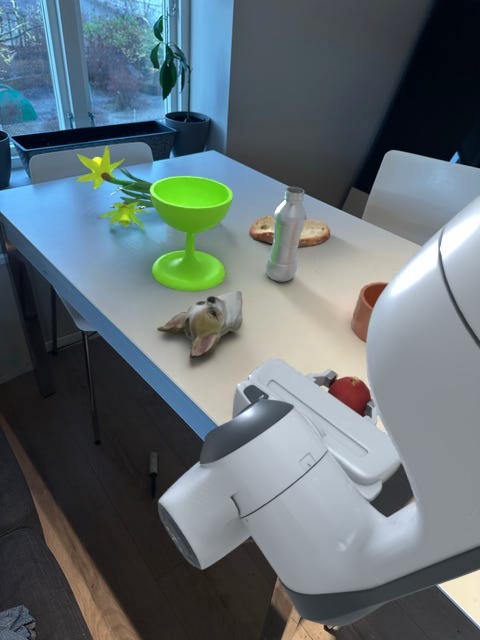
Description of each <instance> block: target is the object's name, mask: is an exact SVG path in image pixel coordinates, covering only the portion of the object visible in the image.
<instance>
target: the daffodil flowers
mask: <svg viewBox="0 0 480 640" xmlns="http://www.w3.org/2000/svg"><path fill="white" fill-rule="evenodd" d="M76 155H77V157H78V159H79V161H80V162H81V163H82V164H83V165H84V166H85V167H86V168H87V169H88V170H90V171H91V172H89V173H87V174H84V175H81V176H79V177H77V178H75V179H74V182H80V183H89V182H92V181H93V183H92V191H95V190H96V189H99V188H101V186H102V185H103V184H104V182H107V183H110V184H113V185H117V188H118V189H116V190H114V191H113V192H112V193H111V194H109V197H110V196H113V195H114V194H116V193H117V192H120V191H121V192H122V193H123V194H125V195H126V196H129V197H126V196H119V198H120V199H121V200H122V201H123V202H113V203H112V206H110V207H109V208H110V209H115V210H112V211H107V212H105V213H102V214H101V215H100V217H98V218H97V220H100V219H105V218H110V220H109V226H110V227H111V226H113V225H115V224H116V223H118V224H119V225H121V226H123V227H129V226H131V225H132V224H131V223H132V222H133V223H134V224H136V225H137V226H138V227H139V228H141V229H143V230H145V227H144V226H143V223H142V221H140V219H139V218H138V216H137V215H136V214H139V213H140V214H144V213H147V214H153V212H152V211H149V210H145V209H149V208H154V205H153V203H152V201H151V195H150V187H151V186H152V184H153V183H154V182H149V181H146V180H144V179H140V178H139V177H136V176H134V175H132V173H130V172H129V171H128V170H127V169H126V168H125V167H124V166H122V168H123V169H122V168H120V167H119V166H120V165H121V164H122V163H123V162H124V161H125V160H126V158H125V157H124V158H122V159H121V160H119V161H116V162H112V163H111V155H110V148H109V146H108V145H106V146H105V148H104V151H103V154H102V157H100V156H94V158H92V159H91V158H89V157H88V156H87V157H86V156H84V155H81V154H79V153H77V154H76ZM115 169H118V170H119V171H120V172H121V173H122V174H123V175H124V176H125V177H126V178H129V179H130V180H126V179H125V180H124V179H119V178H116V176H115V175H114V174H113V172H112V171H114V170H115ZM131 180H132V181H131ZM136 207H138V208H136ZM154 209H155V208H154ZM131 221H132V222H131Z"/></svg>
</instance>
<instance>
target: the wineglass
mask: <svg viewBox="0 0 480 640" xmlns="http://www.w3.org/2000/svg"><path fill="white" fill-rule="evenodd" d="M152 183H153V184H152V186H151V187H150V194H149V196H151V201H152V203H153V205H154V210H155V212H156V214H157V215H158V217H159V218H160V219H161V220H162V221H163V222H164V223H165V224H166V225H167V226H169V227H171V228H172V229H174V230H177V232H181V233H185V242H184V243H185V244H184V245H185V246H184V248H185V249H181V250H175V251H170V252H167V253H165V254H163V255H161V256H159V257H158V258H157V259H156V260H155V261H154V263H153V265H152V267H151V274H152V277H153V279H155V280H156V281H157V282H158V283H159V284H161V285H162V286H164V287H166V288H169V289H172V290H176V291H180V292H181V291H182V292H201V291H207V290H210V289H213V288H215V287H216V286H218V285H221V283H222V282H223V281H224V280H225V278H226V269H225V266H224V264H223V263H222V262H221V261H220V260H219V259H218V258H217V257H215V256H213V255H211V254H209V253H206V252H203V251H200V250H199V251H198V250H195V247H196V246H195V243H196V234H199V233H200V234H201V233H204V232H206V231H209V230H211V229H213V228H215V227H217V225H218V224H220V223H221V222H222V221H223V220H224V219H225V217H226V216H227V214H228V213H229V210H230V208H231V205H232V201H233V198H234V194H233V191H232V189H230V187H229V186H227V185H225V184H224V183H223V182H219V181H217V180H215V179H210V178H207V177H201V176H194V175H177V176H175V175H174V176H169V177H165V178H161V179H159V180H157V181H154V182H152Z"/></svg>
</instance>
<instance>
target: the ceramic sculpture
mask: <svg viewBox="0 0 480 640" xmlns="http://www.w3.org/2000/svg"><path fill="white" fill-rule="evenodd" d="M243 323H244V319H243V293H242V291H241V290H238V291H234V292H227V293H224V294H222V295H220V296H214V295H209V296H206V298H205V299H204V300H201V301H200V300H199V301H197V302H195V304H193V305H190V306H189V307H188V308H187V309H186V311H181V312H180V313H178V314H176V315H174V316H173V317H172V318H171V319H170V320H168V322H166V324H164V325H162V326H159V327H157V328H156V329H157V331H158V332H161V333H166V334H171V335H179V334H181V333H183V332H185V335H186V336H187V338H188V339H190V340H191V341H192V344H191V346H190V354H189V356H188V359H189V360H195V359H200V358H203V357H205V356H207V355H209V354H210V353H211V352H212V351H213V350H214V349H215V347H217V345H218V343H219V341H220V339H221V337H223V336H225V334H227V333H228V332H232V333H236V332H238V331H239V330H240V329H241V328H242V326H243Z"/></svg>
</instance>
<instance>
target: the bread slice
mask: <svg viewBox="0 0 480 640" xmlns="http://www.w3.org/2000/svg"><path fill="white" fill-rule="evenodd" d="M248 235H249V236H250V237H251V238H252V239H253V240H255V241H261V242H265V243H267V244H270V245H273V239H274V216H273V215H270V216H269V215H266V216H263V217H260V218H258V219H257V220H256V221H255V222H253V223H252V225H251V226H250V229H249V232H248ZM330 237H331V230H330V227H328V225H327V224H326V223H325V222H323V221H321V220H315V219H308V218H306V221H305V224H304V227H303V230H302V233H301V236H300V240H299V244H298V248H300V247H312V246H316V245H320V244H323V243H325V242H327V241H328V240H329V239H330Z"/></svg>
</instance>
